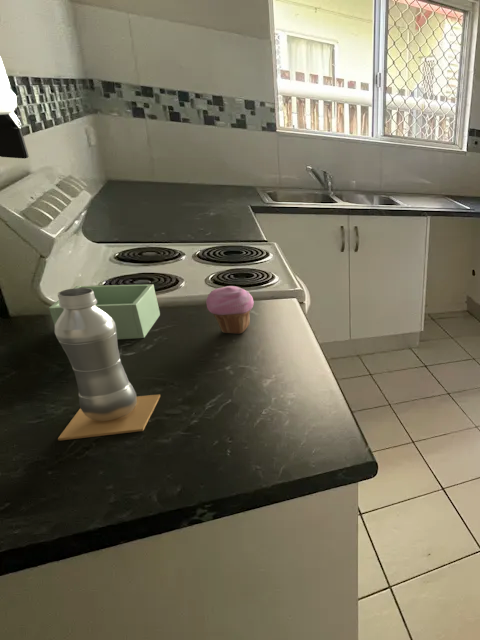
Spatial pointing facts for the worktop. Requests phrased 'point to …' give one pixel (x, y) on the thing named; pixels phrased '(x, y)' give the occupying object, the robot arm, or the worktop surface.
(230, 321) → the cupcake
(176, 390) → the worktop surface
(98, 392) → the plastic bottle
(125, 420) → the mat
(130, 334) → the bin
